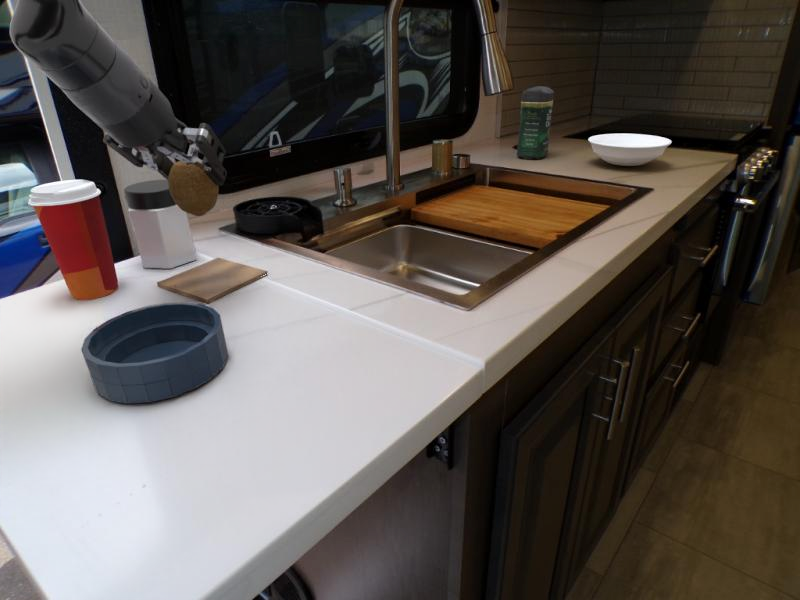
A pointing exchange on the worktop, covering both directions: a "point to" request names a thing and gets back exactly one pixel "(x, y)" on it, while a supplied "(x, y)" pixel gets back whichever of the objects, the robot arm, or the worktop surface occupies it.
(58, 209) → the coffee cup
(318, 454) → the worktop surface
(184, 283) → the board
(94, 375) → the glazed bowl
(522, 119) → the green canister
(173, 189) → the fruit
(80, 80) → the robot arm
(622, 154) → the bowl
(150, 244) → the jar
